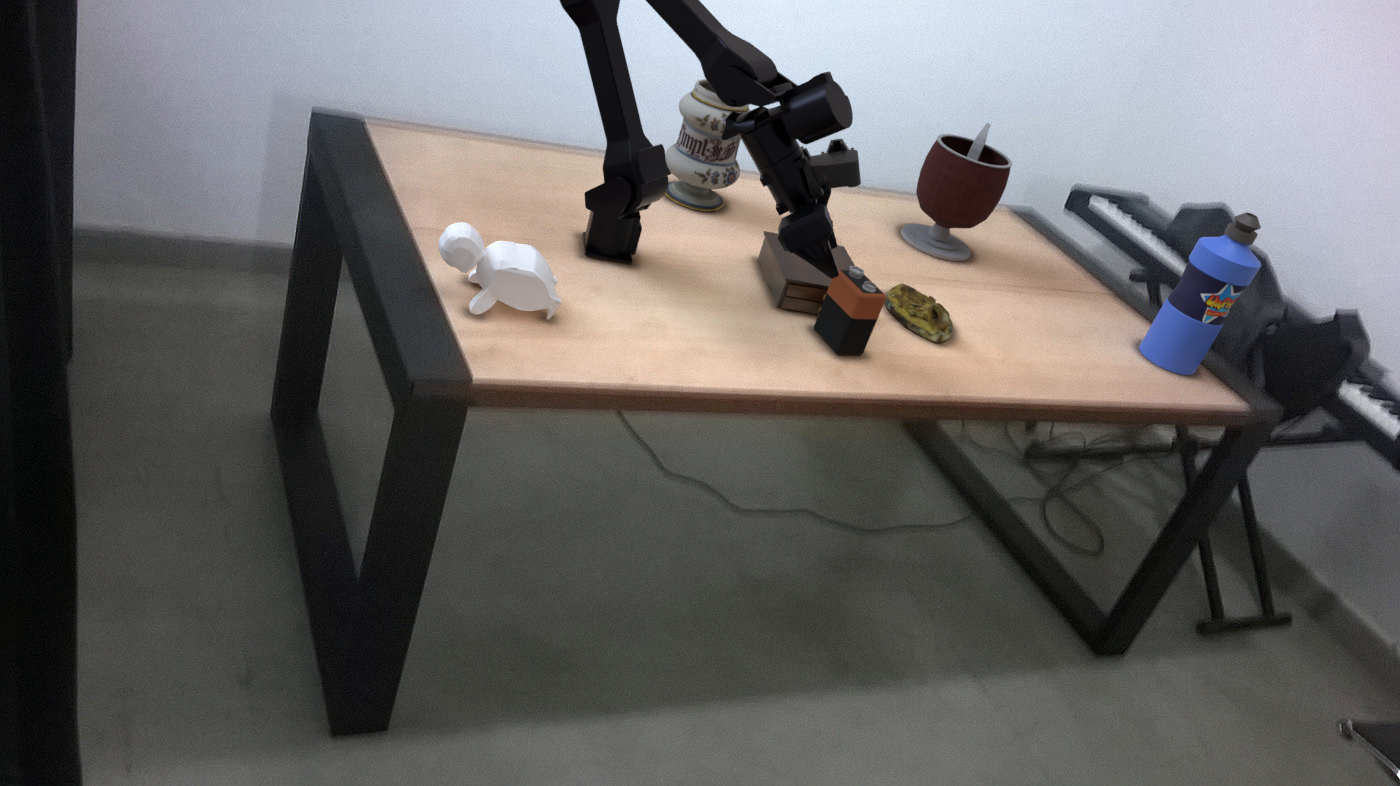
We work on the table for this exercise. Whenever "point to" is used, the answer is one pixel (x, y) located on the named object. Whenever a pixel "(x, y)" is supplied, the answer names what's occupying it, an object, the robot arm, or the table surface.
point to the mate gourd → (957, 192)
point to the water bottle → (1203, 297)
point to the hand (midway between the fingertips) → (834, 261)
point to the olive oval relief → (919, 313)
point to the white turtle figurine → (500, 271)
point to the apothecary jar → (702, 151)
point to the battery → (849, 312)
